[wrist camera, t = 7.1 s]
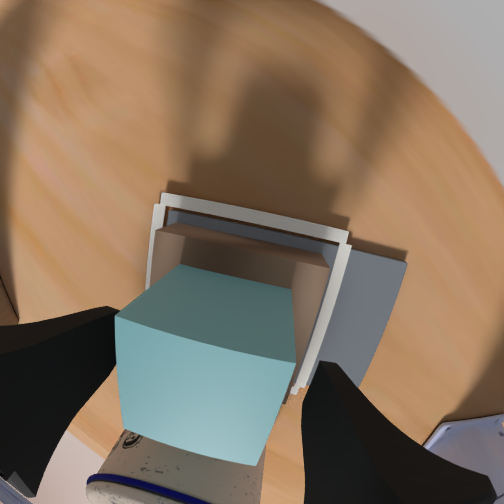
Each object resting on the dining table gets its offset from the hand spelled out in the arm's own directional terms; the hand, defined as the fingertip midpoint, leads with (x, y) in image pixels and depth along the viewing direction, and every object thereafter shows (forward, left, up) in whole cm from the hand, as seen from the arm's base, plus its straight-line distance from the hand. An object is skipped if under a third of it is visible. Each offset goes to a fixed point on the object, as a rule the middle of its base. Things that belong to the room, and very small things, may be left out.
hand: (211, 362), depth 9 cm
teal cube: (0, 0, -2) cm, 3 cm away
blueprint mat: (-2, 0, -5) cm, 6 cm away
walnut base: (0, 0, -5) cm, 5 cm away
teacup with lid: (+1, +11, -6) cm, 12 cm away
